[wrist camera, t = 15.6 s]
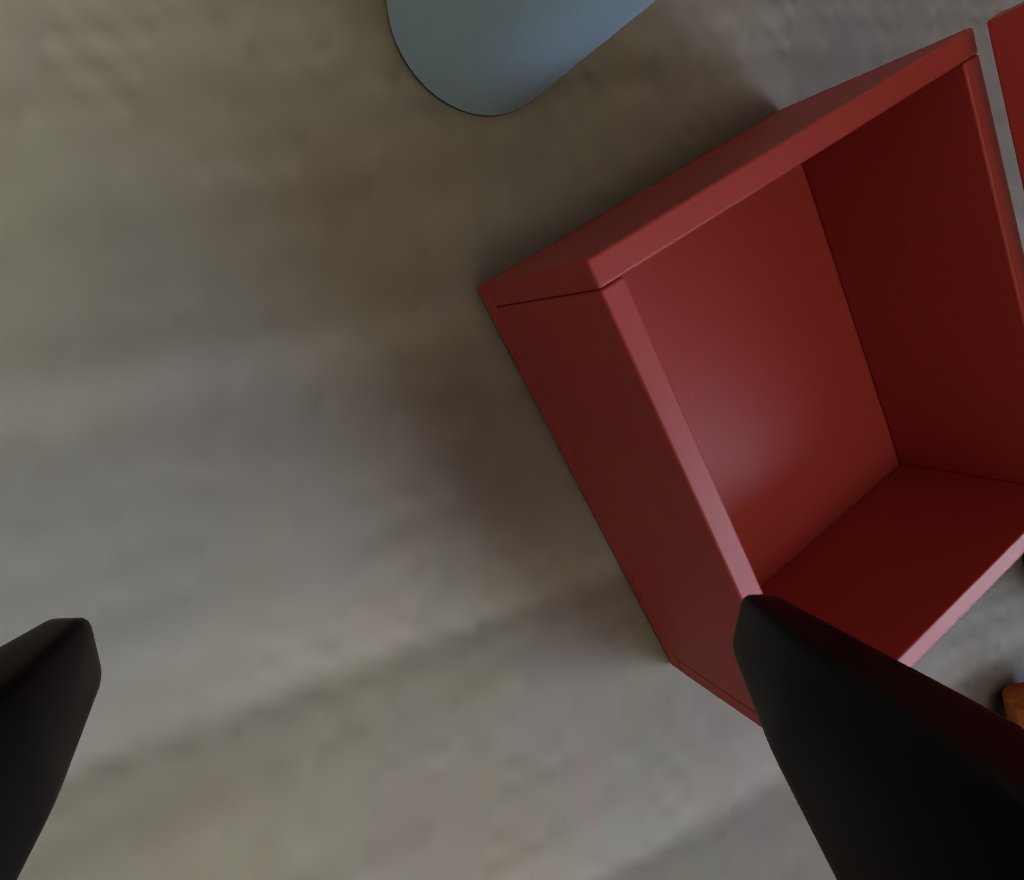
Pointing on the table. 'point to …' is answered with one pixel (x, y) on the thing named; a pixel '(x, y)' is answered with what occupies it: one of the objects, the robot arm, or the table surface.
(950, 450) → the cool box
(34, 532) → the table surface
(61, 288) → the table surface
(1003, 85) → the cool box lid
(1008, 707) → the kendama
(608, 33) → the water bottle
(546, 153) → the table surface
